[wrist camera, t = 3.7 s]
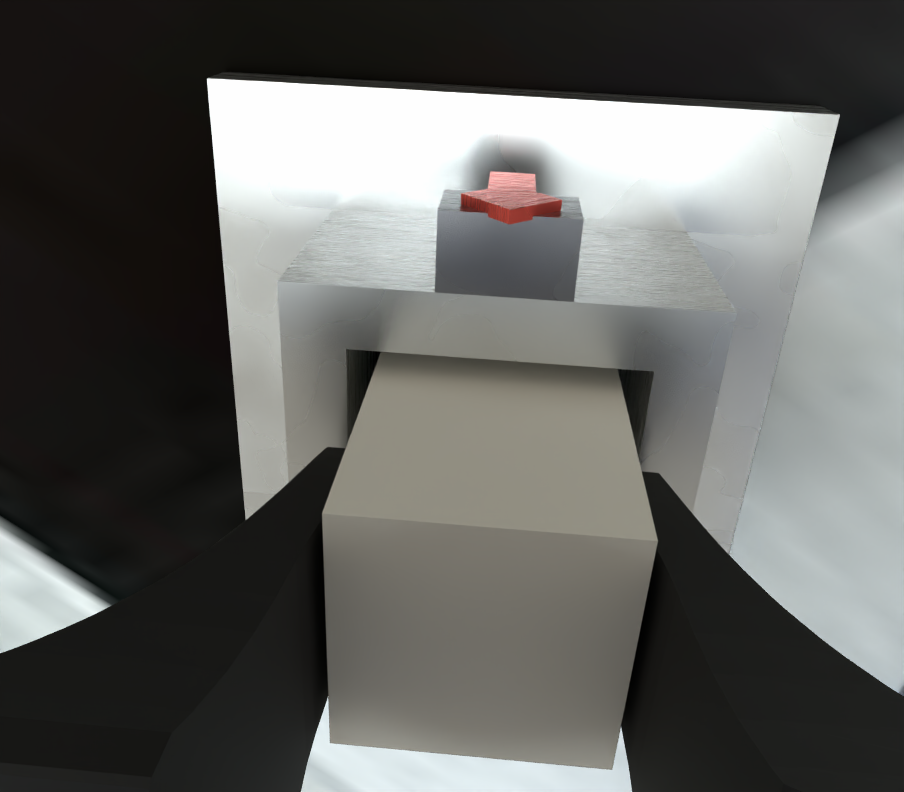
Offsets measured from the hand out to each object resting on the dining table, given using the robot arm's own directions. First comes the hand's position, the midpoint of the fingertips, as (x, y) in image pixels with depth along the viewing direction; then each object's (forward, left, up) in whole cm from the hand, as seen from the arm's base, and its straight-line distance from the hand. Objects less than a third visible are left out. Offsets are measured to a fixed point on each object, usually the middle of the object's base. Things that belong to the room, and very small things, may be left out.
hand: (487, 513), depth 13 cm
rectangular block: (0, 0, -6) cm, 6 cm away
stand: (0, 0, -6) cm, 6 cm away
